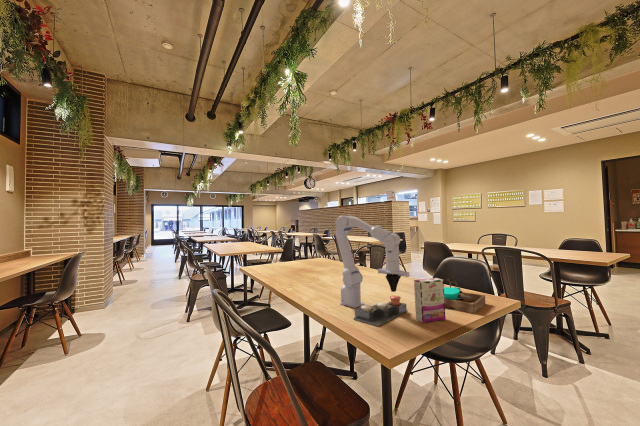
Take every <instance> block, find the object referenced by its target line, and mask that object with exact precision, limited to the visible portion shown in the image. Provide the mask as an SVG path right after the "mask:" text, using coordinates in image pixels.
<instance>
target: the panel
mask: <svg viewBox="0 0 640 426" xmlns="http://www.w3.org/2000/svg"><path fill="white" fill-rule="evenodd" d="M386 304H387V306H386V308H384V309H381V308H377V306H376V304H374V305H371V306H372V309H371V311H369V312H367V311H363V310H362V309H361V306H359V307H357V308H354V317H353V320H354V321H358V322H360V323H363V324H364V323H365V324H368V325H371V326H375V327H378V328H380V327H382V326H383V325H385V324H387V323H389V322H390V321H392V320H393V319H396V318H397V317H399V316H401V315H403V314H404V313H406V312H407V311H408V309H407V303H403V302H400V305H399V306H393V305H391V301H389V302H387V303H386Z"/></svg>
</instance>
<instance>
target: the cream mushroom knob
mask: <svg viewBox="0 0 640 426" xmlns="http://www.w3.org/2000/svg"><path fill="white" fill-rule="evenodd" d="M372 306H373V305H369V304H363V305H361V306H360V307H361V309H362V310H363V311H367V312H369V311H371V309H372Z"/></svg>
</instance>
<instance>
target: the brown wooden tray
mask: <svg viewBox="0 0 640 426" xmlns="http://www.w3.org/2000/svg"><path fill="white" fill-rule="evenodd" d="M462 292H463V293H464V295H465V296H470V297H471V299H466V300H469V301H470V302H471V303H467V302H461V301H456V300H450V299H444V300H445V305H449V306H452V308H455V309H453V310H455V311H460V312H465V313H470V314H474V313H476V312H477V311H478V312H479V311H480V310H481V309H482V308H483V307H484V306H485V305H486V295H485V294H478V293H474V292H473V293H471V292H465V291H462ZM476 314H477V313H476Z"/></svg>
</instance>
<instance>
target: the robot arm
mask: <svg viewBox="0 0 640 426" xmlns="http://www.w3.org/2000/svg"><path fill="white" fill-rule="evenodd" d="M334 223H335V233H334V234H335V237H336V241H337V246H338V248H339V252H340V257H341V261H342V264H343V271H342V282H343V286H342V287H341V289H340V303H339V304H340V305H343V306H345V307H349V308H350V307H351V308H353V309H357V308H360V307H361V306H362V305H365V302H362V298H361V297H362V296H361V293H362V291H361V285H362V282H363V280H364V277H363V274H362V273H361V271H360V269H359V268H358V267H357V266H356V264H355V260H354V257H353V253H352V249H351V246H350V242H349V239H348V238H349V237H348V234H349V232H350V231H351V230H353V228H354V227H356V228H358V229H361V230H363V231H366V232H368V233H370V236H371V238H373V239H375V240H377V241H379V242H380V243H382V244H383V245H384V246H385V268H378V269H377V274H384V275H385V279H386V280H387V282H388V285H389V287H390V292H393V293H395V292H396V291H397V288H398V284H399V282H400V279H401V277H405V278H409V277H410V271H404V270H401V269H400V249H399V248H400V247H399V245H400V244H401V237H400V235H398V234H397V233H395V232H394V233H393V232H392V231H391V230H386V229H385V228H383V226H382V225H375V226H373V225H371V224H369V223H368V222H366V221H364V220H362V219H361V218H358V217H357V216H354V215H339V216H338V217H337V218H336V220H335V222H334Z"/></svg>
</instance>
